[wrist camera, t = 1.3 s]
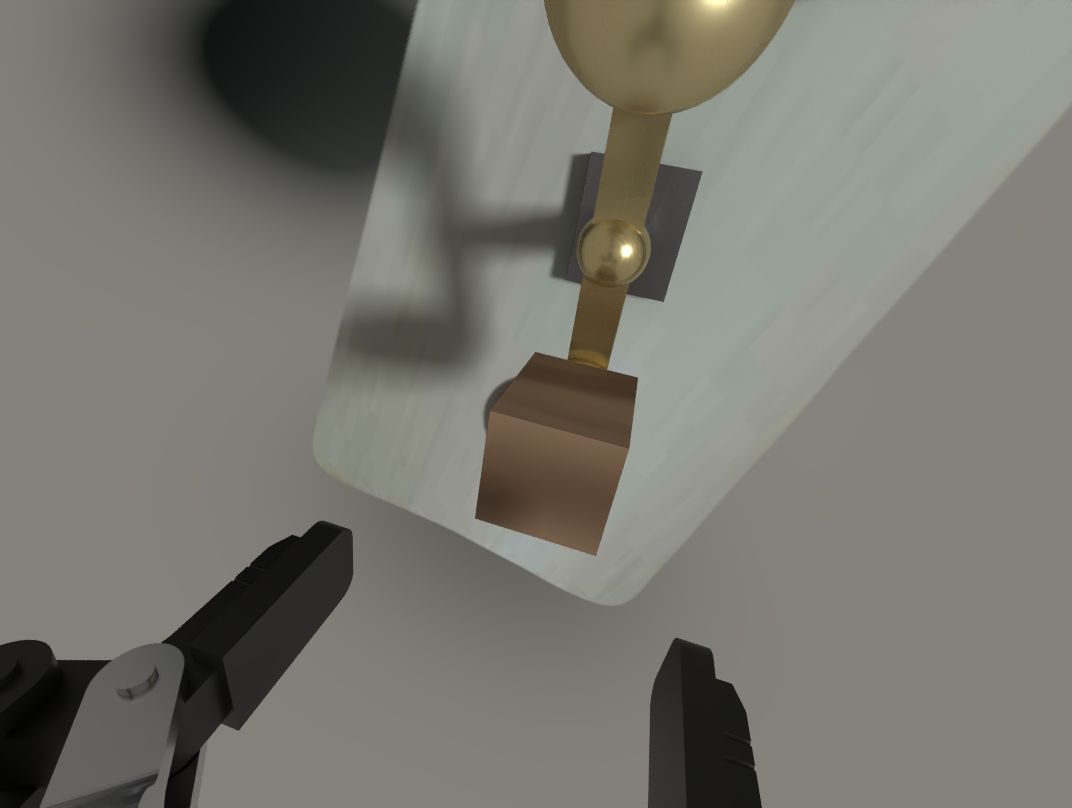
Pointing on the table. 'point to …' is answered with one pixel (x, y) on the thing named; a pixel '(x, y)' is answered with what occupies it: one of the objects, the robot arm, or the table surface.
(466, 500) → the table surface
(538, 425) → the walnut block
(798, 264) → the table surface
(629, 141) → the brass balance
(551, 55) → the table surface
